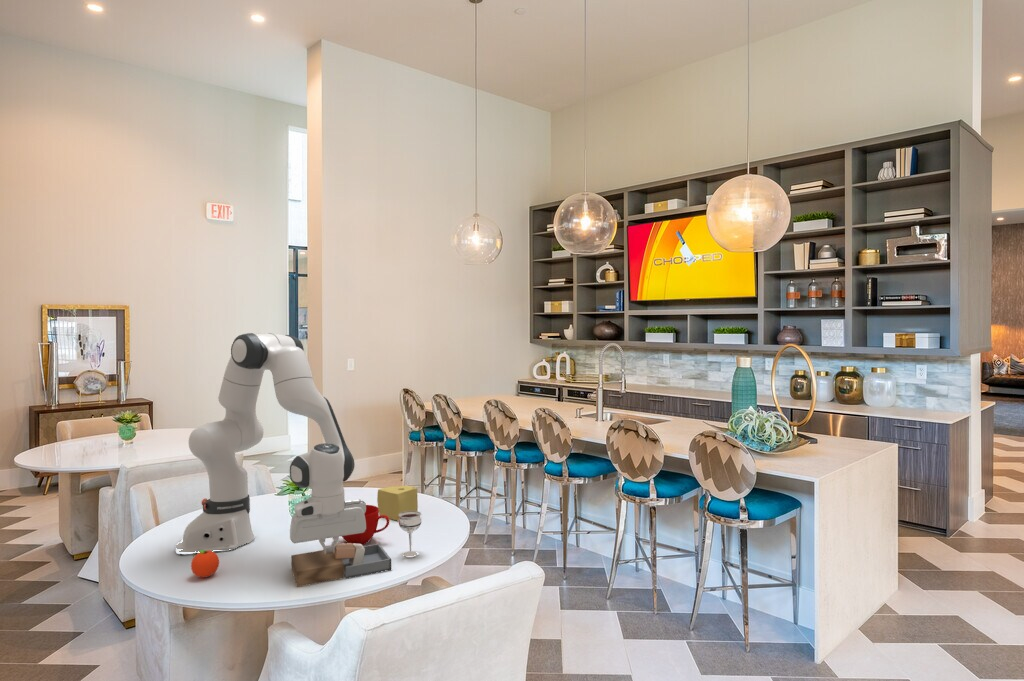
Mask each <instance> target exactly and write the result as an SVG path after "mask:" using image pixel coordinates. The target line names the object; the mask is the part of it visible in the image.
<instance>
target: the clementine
mask: <svg viewBox="0 0 1024 681" xmlns="http://www.w3.org/2000/svg"><path fill="white" fill-rule="evenodd" d="M199 552H200V553H198V554H196V553H195V554H192V556H193V557H192V560H191V563H190V569H191V572H192V574H194V576H196V577H199V578H207V577H206V576H208V577H211V576H213V575H214V574H215V573H216V571H217V570H218V569H219V566H220V559H219V558H220V557H219V556H218V554H217V553H216V552H212V551H204V550H203V551H199ZM210 575H211V576H210Z"/></svg>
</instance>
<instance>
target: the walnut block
mask: <svg viewBox="0 0 1024 681" xmlns="http://www.w3.org/2000/svg"><path fill="white" fill-rule="evenodd" d="M290 556H291V560H290V561H291V571H292V575H294V576H293V579H294V581H295V584H296V587H297V588H298V587H304V586H309V584H310V585H314V584H319V583H320V584H321V583H325V582H331V581H335V579H336V580H340V578H342V579H344V578H345V575H344V563H343V561H342V560H341V559H336V558H335V556H334V554H333V553H331V554H325V555H324V552H323V549H321V550H316V551H309V552H304V553H299V554H291V555H290Z"/></svg>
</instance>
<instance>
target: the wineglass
mask: <svg viewBox="0 0 1024 681" xmlns="http://www.w3.org/2000/svg"><path fill="white" fill-rule="evenodd" d="M421 515H422V513H421V512H420V511H418V510H417V511H406V512H402V513H400V514H399V517H400V518H399V521H397V522H398V526H399V528H400V529H401V530H402V531H404V532H406V533H407V534H408V541H409V542H408V543H409V551H406V552H404V554H403V553H402V554H403V555H404V556H414V555H417V553H416V552H417V551H415V550H412V536H413V535H412V534H413V533H414V532H415V531H416V530H418V529H419V527H420V526H421V525H422V517H421Z"/></svg>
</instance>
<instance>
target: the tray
mask: <svg viewBox="0 0 1024 681" xmlns="http://www.w3.org/2000/svg"><path fill="white" fill-rule="evenodd" d="M362 546H363V545H362ZM363 547H364V548H365V552H364V557H363V562H362V564H357V565H351V564H350V562H349V558H341V560H342V561H343V563H344V578H345V579H350V578H349V577H351V578H356V577H360V576H361V575H362V576H366V575H367V576H368V575H372V574H376V572H378V573H382V572H381V571H383V572H386V571H385V570H388V571H392V570H391V569H392V558H391V557H390V556H389V555H388V553H387V552H386V550H385V549H384V547H382V545H381V544H380V543H375V544H369V545H364V546H363ZM371 573H372V574H371ZM355 576H356V577H355Z"/></svg>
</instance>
